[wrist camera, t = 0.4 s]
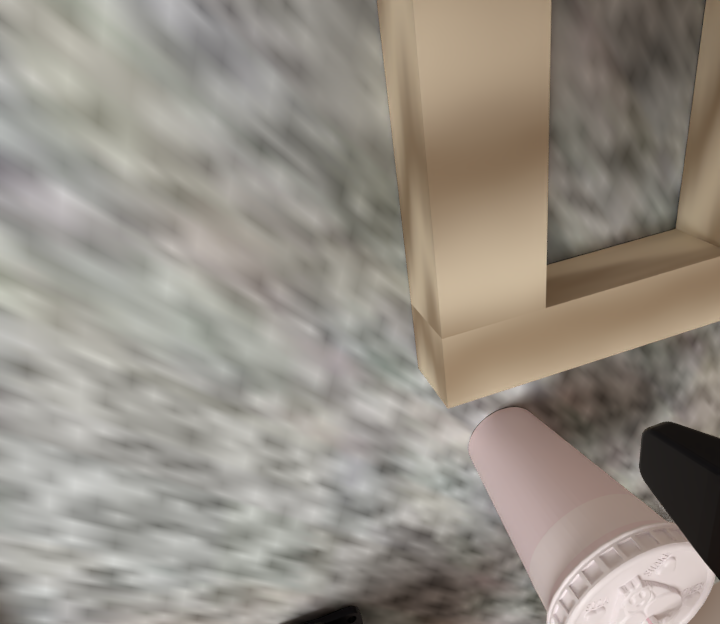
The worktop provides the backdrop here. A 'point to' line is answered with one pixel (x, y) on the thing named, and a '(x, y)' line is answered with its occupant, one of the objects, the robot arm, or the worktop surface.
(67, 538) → the worktop surface
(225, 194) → the worktop surface
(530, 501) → the smoothie
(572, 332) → the slot board
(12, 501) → the worktop surface
